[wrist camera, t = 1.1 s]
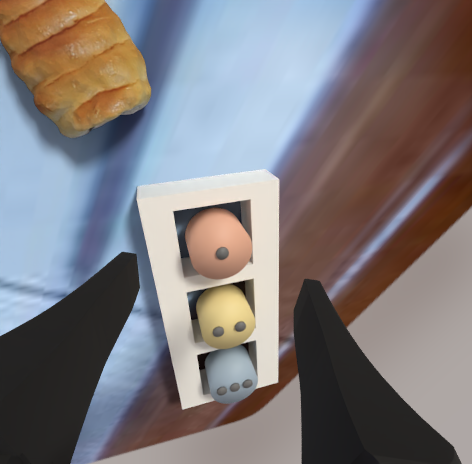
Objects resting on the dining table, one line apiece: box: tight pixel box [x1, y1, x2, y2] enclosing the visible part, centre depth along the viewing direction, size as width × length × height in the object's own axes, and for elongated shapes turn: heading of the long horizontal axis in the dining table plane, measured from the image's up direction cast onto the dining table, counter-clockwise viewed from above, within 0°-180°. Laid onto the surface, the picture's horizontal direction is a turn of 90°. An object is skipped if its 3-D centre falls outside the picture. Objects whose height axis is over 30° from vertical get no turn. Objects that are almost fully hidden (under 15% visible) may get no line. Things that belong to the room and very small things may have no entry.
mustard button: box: [196, 284, 255, 349], centre depth 26 cm, size 4×4×3 cm
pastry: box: [0, 0, 151, 138], centre depth 17 cm, size 9×7×4 cm
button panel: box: [137, 169, 279, 409], centre depth 27 cm, size 22×10×3 cm, turn 4°
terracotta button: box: [185, 207, 252, 279], centre depth 22 cm, size 4×4×3 cm
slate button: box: [205, 345, 258, 403], centre depth 29 cm, size 4×4×3 cm
